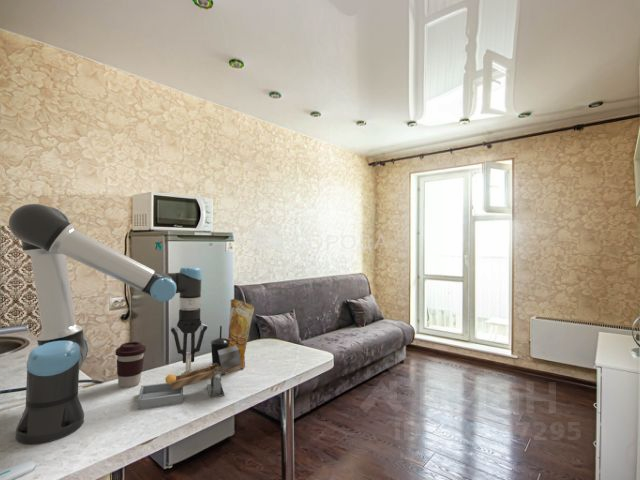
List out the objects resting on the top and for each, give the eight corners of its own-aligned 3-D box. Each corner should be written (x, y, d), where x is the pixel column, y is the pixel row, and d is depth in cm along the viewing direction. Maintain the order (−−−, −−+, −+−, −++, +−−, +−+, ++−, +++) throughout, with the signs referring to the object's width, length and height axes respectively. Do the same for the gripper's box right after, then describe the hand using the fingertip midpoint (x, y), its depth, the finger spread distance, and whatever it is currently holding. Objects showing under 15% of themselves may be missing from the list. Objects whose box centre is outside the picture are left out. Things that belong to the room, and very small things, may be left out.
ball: (167, 387, 114) (163, 379, 113) (167, 383, 117) (164, 375, 116) (177, 383, 115) (173, 374, 115) (177, 379, 118) (174, 370, 118)
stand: (209, 397, 116) (210, 373, 116) (207, 385, 126) (207, 363, 126) (224, 395, 118) (225, 371, 118) (220, 383, 128) (221, 361, 128)
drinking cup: (222, 378, 132) (224, 329, 132) (205, 376, 134) (207, 327, 134) (231, 371, 140) (233, 324, 140) (215, 369, 141) (217, 322, 141)
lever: (172, 390, 113) (168, 370, 113) (172, 377, 124) (169, 359, 123) (242, 368, 123) (238, 349, 122) (236, 357, 133) (233, 340, 133)
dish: (137, 409, 107) (137, 400, 107) (140, 393, 117) (141, 385, 117) (182, 402, 112) (183, 394, 112) (182, 388, 123) (182, 380, 123)
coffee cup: (116, 392, 118) (118, 350, 118) (112, 382, 125) (113, 342, 125) (146, 385, 124) (148, 345, 124) (141, 376, 132) (142, 338, 132)
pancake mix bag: (234, 355, 159) (237, 297, 159) (253, 368, 144) (256, 304, 145) (221, 358, 155) (223, 298, 155) (239, 371, 140) (242, 305, 140)
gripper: (170, 311, 118) (168, 377, 118) (209, 309, 123) (207, 372, 123) (170, 307, 125) (168, 369, 125) (207, 305, 130) (205, 365, 130)
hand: (188, 370), depth 124 cm, fingers closed
